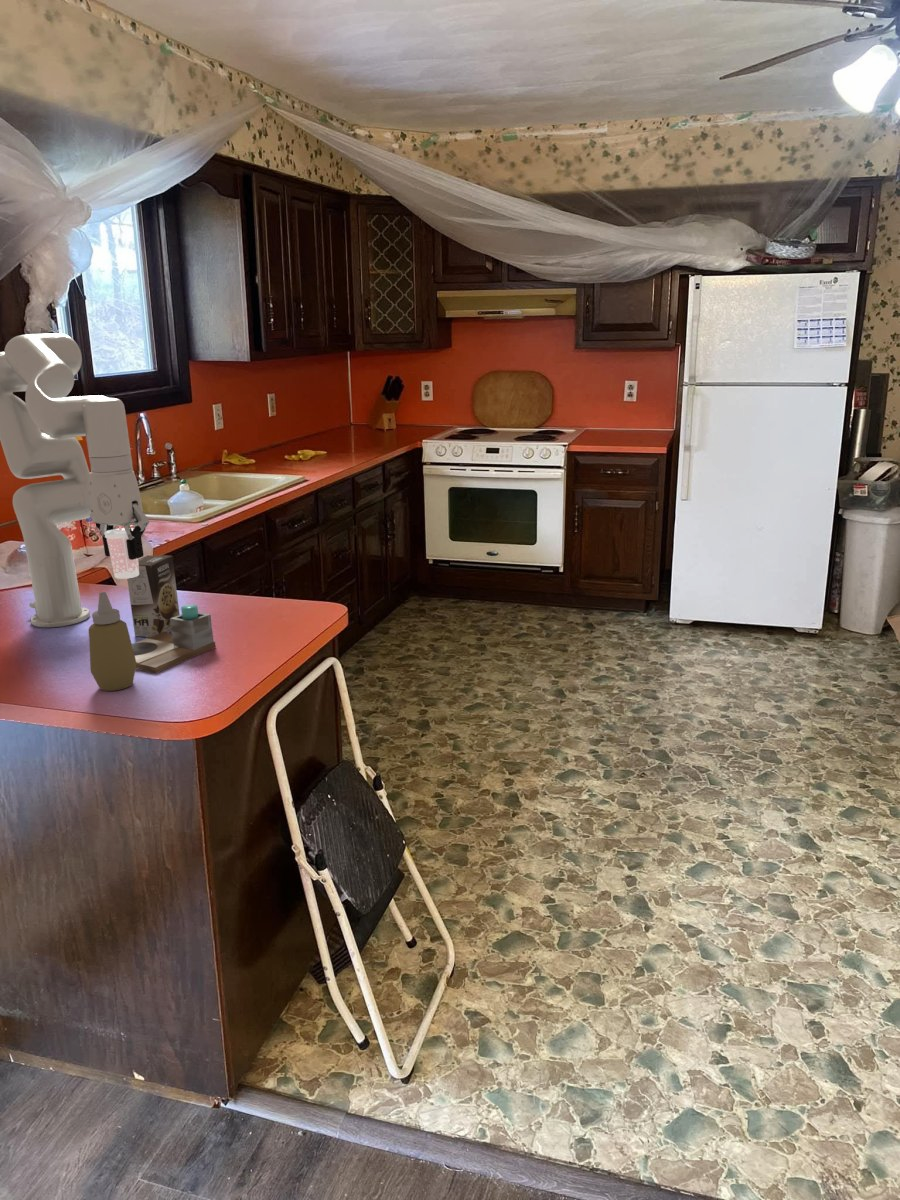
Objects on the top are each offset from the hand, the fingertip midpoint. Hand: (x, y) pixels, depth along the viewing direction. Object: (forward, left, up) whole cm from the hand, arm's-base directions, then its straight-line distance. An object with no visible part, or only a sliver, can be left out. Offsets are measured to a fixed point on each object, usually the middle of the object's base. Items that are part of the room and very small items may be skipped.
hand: (124, 555), depth 175 cm
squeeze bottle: (+9, -13, -21) cm, 27 cm away
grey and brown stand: (+4, +2, -21) cm, 21 cm away
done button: (+8, +7, -15) cm, 18 cm away
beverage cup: (0, 0, -4) cm, 4 cm away
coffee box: (-8, +13, -21) cm, 26 cm away
